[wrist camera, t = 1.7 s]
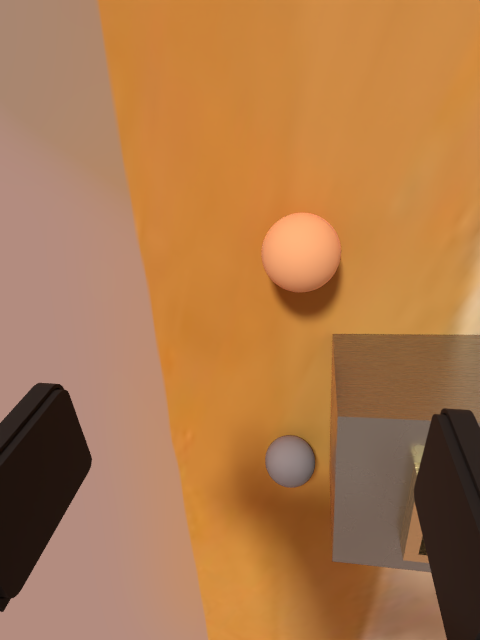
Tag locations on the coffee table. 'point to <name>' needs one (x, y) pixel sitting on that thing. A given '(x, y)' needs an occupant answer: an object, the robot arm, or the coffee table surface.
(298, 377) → the coffee table surface
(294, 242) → the bead
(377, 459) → the grey box with opening
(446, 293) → the coffee table surface
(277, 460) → the bead
